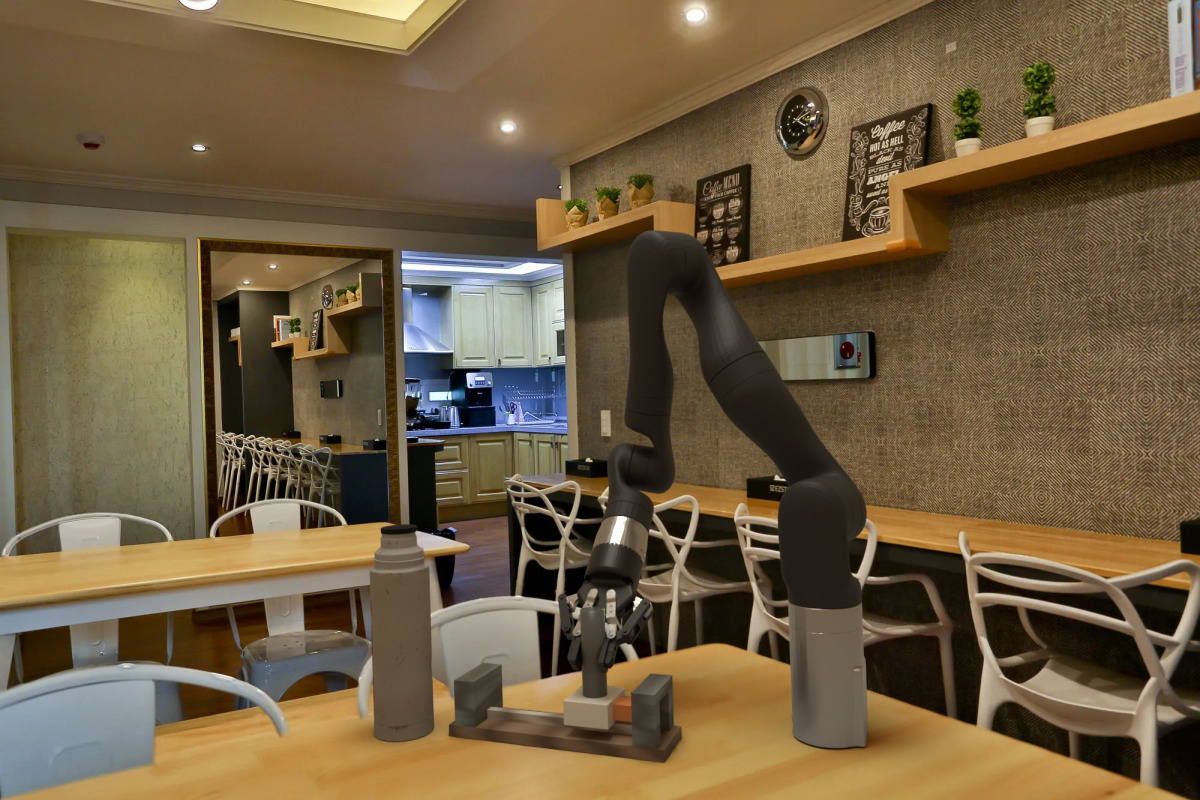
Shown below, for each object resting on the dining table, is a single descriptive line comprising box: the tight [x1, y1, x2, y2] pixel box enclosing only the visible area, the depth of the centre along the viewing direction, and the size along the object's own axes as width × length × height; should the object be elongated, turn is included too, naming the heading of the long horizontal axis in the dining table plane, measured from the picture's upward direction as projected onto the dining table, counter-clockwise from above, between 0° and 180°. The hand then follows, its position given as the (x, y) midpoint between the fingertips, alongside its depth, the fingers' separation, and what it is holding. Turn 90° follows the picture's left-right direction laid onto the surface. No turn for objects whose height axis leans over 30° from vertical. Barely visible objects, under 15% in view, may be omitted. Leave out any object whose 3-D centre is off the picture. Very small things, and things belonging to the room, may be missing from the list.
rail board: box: [448, 662, 683, 763], centre depth 112 cm, size 30×8×8 cm, turn 69°
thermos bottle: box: [369, 523, 435, 742], centre depth 116 cm, size 8×8×28 cm
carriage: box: [562, 607, 627, 730], centre depth 110 cm, size 6×7×14 cm
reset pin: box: [613, 696, 632, 722], centre depth 108 cm, size 5×3×2 cm, turn 69°
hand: (588, 668), depth 108 cm, fingers closed on carriage, 3 cm apart
